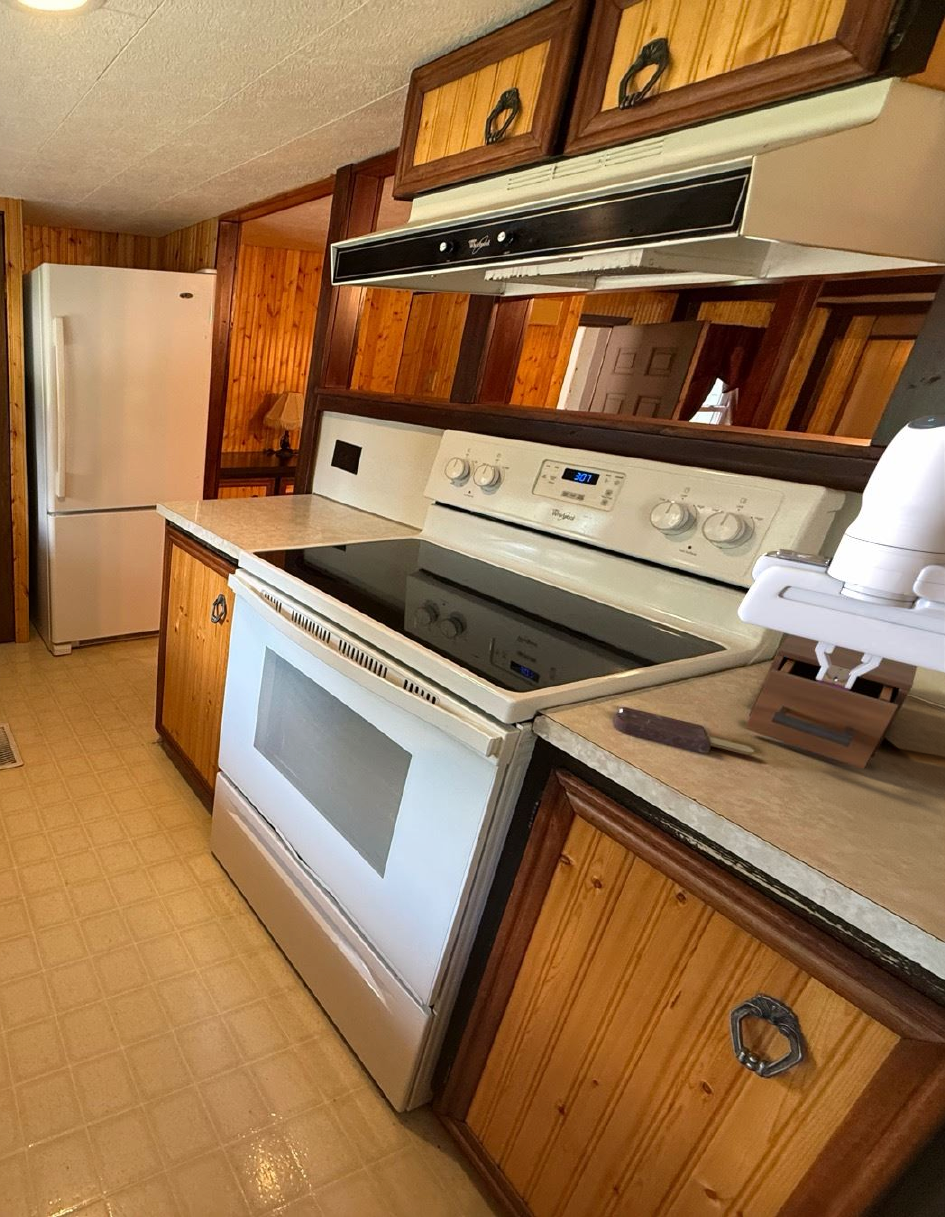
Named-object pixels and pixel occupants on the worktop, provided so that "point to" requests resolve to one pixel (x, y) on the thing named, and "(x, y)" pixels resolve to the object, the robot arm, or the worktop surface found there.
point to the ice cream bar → (671, 731)
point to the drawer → (823, 713)
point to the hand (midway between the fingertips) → (833, 683)
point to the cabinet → (846, 658)
